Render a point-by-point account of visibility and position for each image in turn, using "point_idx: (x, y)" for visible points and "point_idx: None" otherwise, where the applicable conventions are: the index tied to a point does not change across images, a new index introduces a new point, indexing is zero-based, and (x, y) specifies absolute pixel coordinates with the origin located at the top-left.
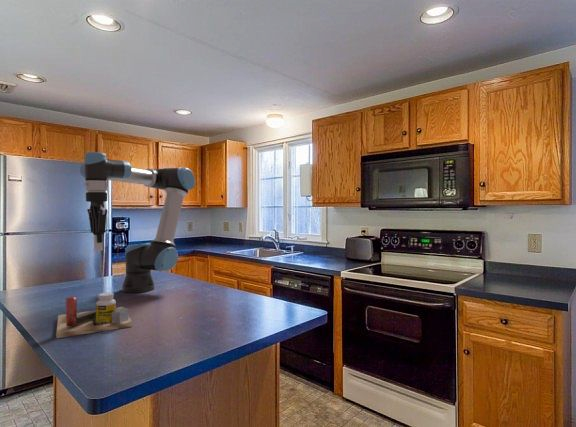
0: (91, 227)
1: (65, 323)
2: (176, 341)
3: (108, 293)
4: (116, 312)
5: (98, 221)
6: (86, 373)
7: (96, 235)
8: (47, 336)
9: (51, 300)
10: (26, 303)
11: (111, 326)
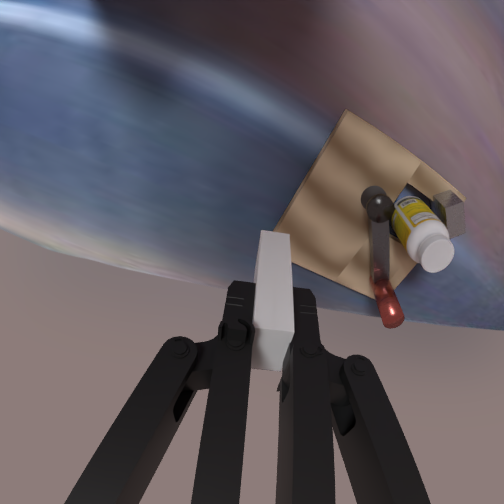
0: (181, 417)
1: (345, 271)
2: None
3: (439, 249)
4: (458, 235)
5: (361, 491)
6: (492, 318)
7: (282, 360)
8: (355, 299)
9: (64, 176)
10: (61, 222)
11: None
